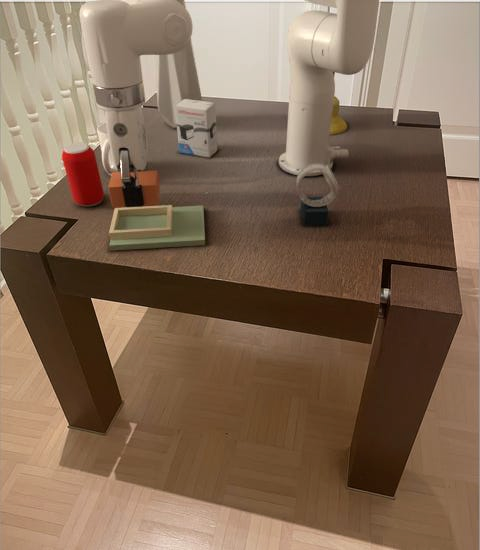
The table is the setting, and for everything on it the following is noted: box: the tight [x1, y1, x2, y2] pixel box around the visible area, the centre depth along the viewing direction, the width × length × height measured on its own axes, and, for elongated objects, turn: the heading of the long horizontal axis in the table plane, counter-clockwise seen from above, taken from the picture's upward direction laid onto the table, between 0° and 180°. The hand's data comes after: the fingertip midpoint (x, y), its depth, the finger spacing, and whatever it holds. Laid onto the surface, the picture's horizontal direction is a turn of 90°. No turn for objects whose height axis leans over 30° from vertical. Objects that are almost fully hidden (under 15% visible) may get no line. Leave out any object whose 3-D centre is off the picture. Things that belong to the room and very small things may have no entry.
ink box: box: [175, 99, 218, 158], centre depth 110 cm, size 8×5×12 cm, turn 68°
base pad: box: [108, 204, 206, 252], centre depth 86 cm, size 17×12×3 cm
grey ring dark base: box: [295, 163, 340, 227], centre depth 86 cm, size 6×8×11 cm
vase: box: [154, 0, 203, 129], centre depth 117 cm, size 12×12×33 cm
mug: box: [96, 121, 120, 177], centre depth 101 cm, size 12×8×10 cm
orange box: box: [107, 170, 161, 208], centre depth 81 cm, size 8×6×4 cm
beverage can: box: [61, 142, 105, 208], centre depth 91 cm, size 6×6×12 cm
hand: (136, 196), depth 82 cm, fingers closed on orange box, 5 cm apart
